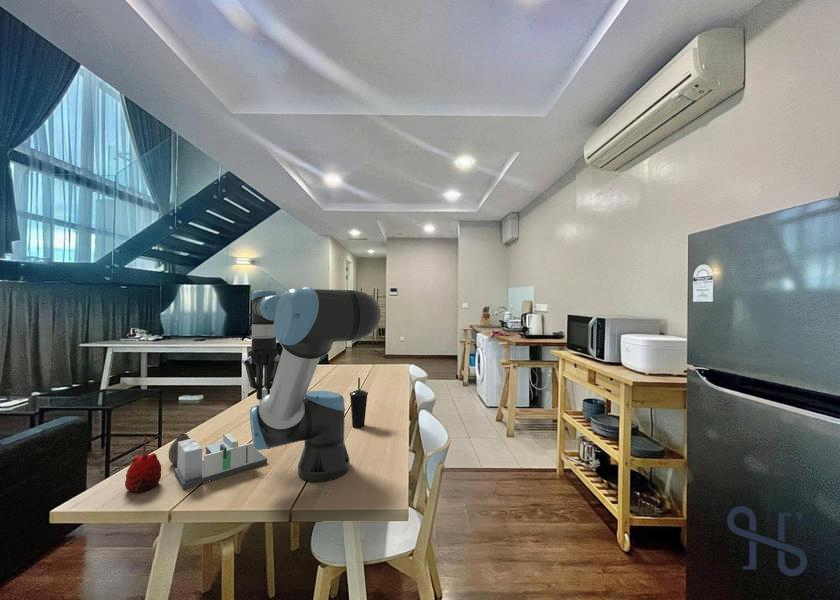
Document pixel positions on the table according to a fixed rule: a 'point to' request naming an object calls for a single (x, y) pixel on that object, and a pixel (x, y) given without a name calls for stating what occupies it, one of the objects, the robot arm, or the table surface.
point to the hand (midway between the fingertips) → (263, 408)
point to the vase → (176, 448)
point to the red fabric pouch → (143, 472)
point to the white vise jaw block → (189, 459)
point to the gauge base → (225, 464)
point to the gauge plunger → (222, 445)
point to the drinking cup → (358, 406)
